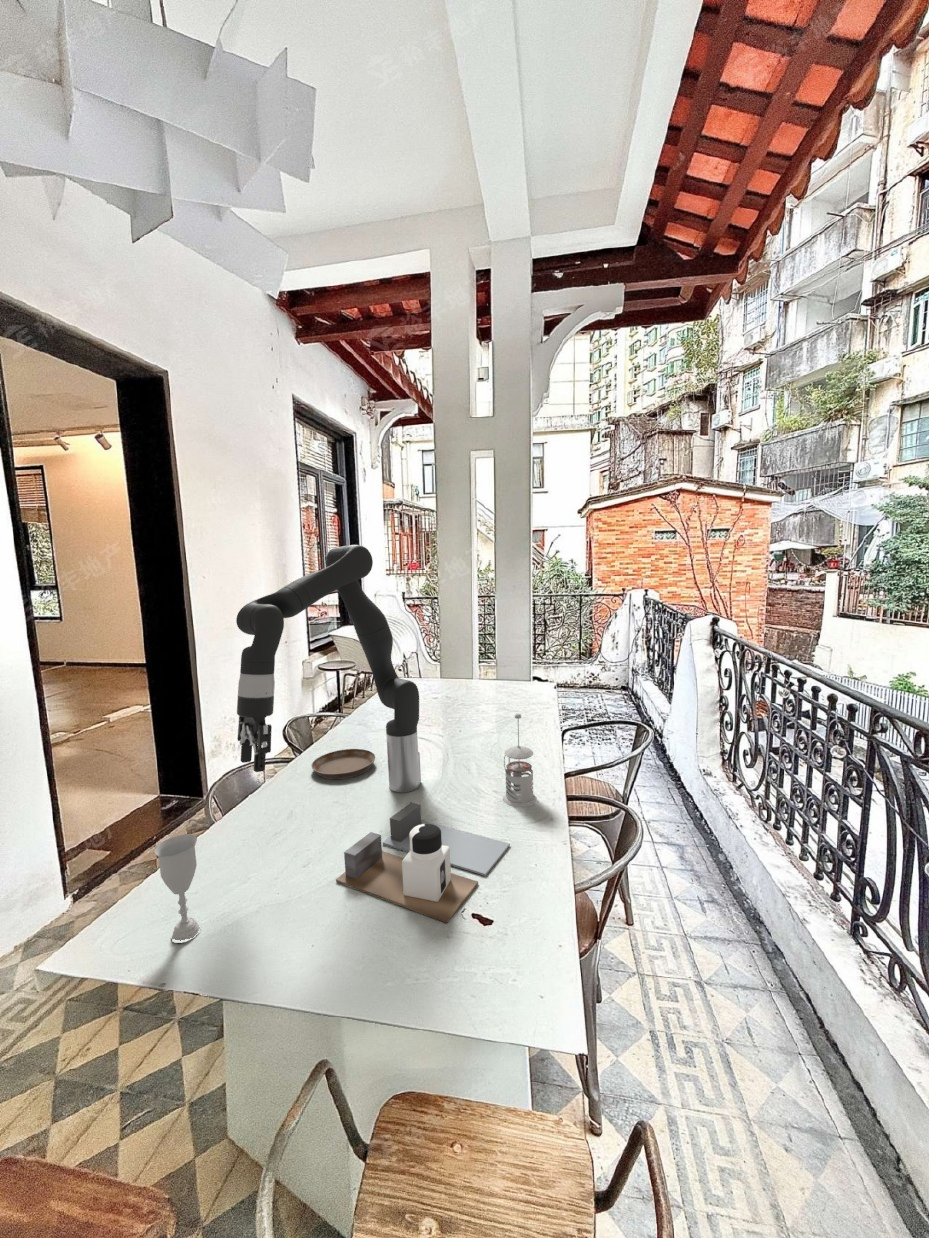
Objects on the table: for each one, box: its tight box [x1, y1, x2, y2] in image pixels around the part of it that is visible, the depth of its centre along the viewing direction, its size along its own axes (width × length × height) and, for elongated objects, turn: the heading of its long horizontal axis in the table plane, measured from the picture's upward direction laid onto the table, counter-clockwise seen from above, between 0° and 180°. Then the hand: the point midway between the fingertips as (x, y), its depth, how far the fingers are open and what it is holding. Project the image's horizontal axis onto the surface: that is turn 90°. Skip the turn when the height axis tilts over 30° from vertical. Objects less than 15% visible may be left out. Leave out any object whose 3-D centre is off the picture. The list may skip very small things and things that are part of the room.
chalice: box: [154, 833, 201, 941], centre depth 96 cm, size 7×7×18 cm
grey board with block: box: [382, 801, 511, 877], centre depth 123 cm, size 13×28×6 cm, turn 61°
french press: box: [502, 713, 538, 808], centre depth 145 cm, size 10×12×25 cm
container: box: [402, 824, 452, 902], centre depth 106 cm, size 8×8×13 cm
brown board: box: [335, 831, 479, 923], centre depth 109 cm, size 13×28×6 cm, turn 61°
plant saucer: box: [311, 748, 376, 780], centre depth 170 cm, size 21×21×3 cm
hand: (252, 766), depth 114 cm, fingers open, 8 cm apart
